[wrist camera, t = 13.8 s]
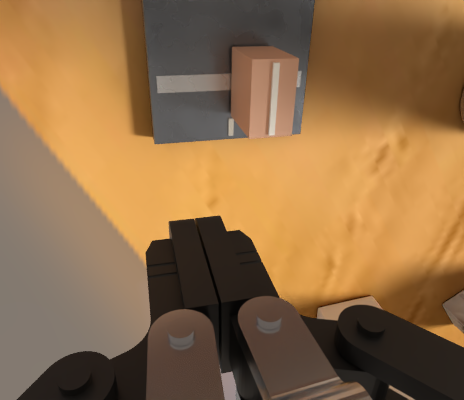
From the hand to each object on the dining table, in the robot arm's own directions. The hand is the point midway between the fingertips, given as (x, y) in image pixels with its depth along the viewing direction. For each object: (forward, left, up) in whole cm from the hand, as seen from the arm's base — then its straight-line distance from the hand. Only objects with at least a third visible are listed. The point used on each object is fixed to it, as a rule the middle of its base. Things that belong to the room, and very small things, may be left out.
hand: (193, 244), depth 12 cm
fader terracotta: (-7, 0, -19) cm, 20 cm away
